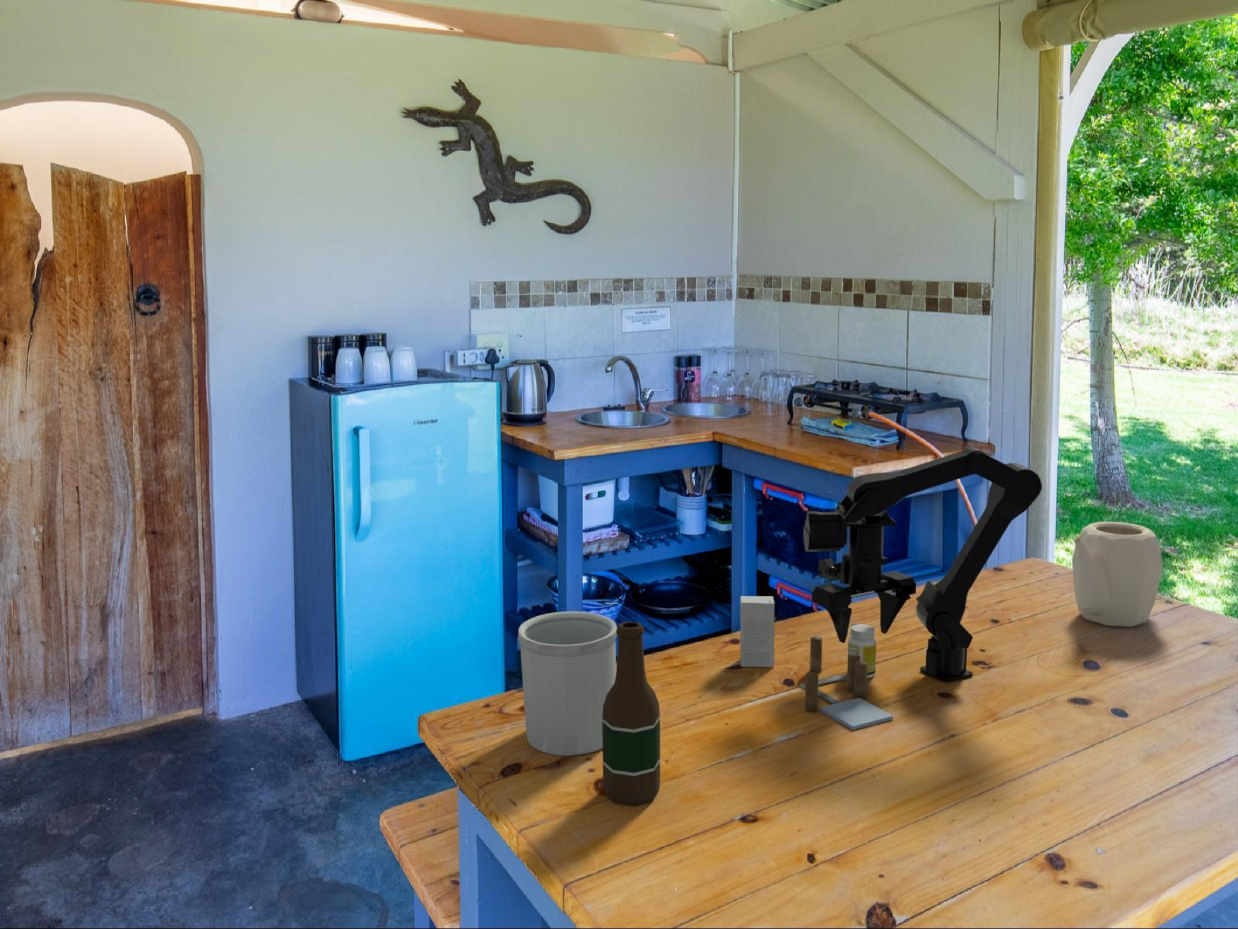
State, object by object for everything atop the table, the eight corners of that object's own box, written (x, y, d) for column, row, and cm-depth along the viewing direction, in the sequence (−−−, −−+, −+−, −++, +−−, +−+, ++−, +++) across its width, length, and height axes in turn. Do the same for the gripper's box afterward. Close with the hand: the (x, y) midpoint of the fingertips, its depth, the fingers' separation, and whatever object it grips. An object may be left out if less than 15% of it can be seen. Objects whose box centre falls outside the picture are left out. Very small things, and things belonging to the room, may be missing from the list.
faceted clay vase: (1032, 623, 209) (1038, 530, 205) (1109, 598, 223) (1116, 511, 220) (1106, 645, 196) (1114, 547, 192) (1182, 618, 211) (1191, 526, 207)
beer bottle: (601, 780, 147) (598, 616, 142) (656, 778, 147) (656, 613, 143) (605, 809, 139) (602, 635, 135) (663, 805, 140) (663, 633, 135)
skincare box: (773, 659, 191) (774, 596, 189) (774, 668, 187) (775, 603, 185) (739, 658, 192) (740, 595, 189) (739, 667, 188) (740, 602, 185)
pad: (859, 701, 172) (859, 697, 172) (892, 719, 165) (893, 715, 165) (820, 711, 169) (820, 707, 169) (852, 730, 162) (852, 726, 162)
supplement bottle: (876, 670, 185) (878, 625, 184) (873, 680, 181) (875, 634, 179) (848, 667, 187) (850, 622, 185) (845, 677, 182) (846, 631, 181)
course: (823, 666, 188) (824, 634, 186) (880, 695, 174) (881, 661, 173) (755, 681, 181) (756, 648, 180) (810, 713, 168) (810, 678, 167)
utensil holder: (545, 767, 151) (542, 651, 148) (506, 728, 164) (503, 620, 161) (635, 745, 158) (634, 633, 154) (592, 709, 171) (590, 605, 167)
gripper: (876, 533, 191) (873, 615, 194) (792, 547, 183) (791, 633, 185) (919, 547, 181) (916, 633, 184) (833, 562, 173) (831, 653, 176)
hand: (863, 637), depth 183 cm, fingers open, 9 cm apart
